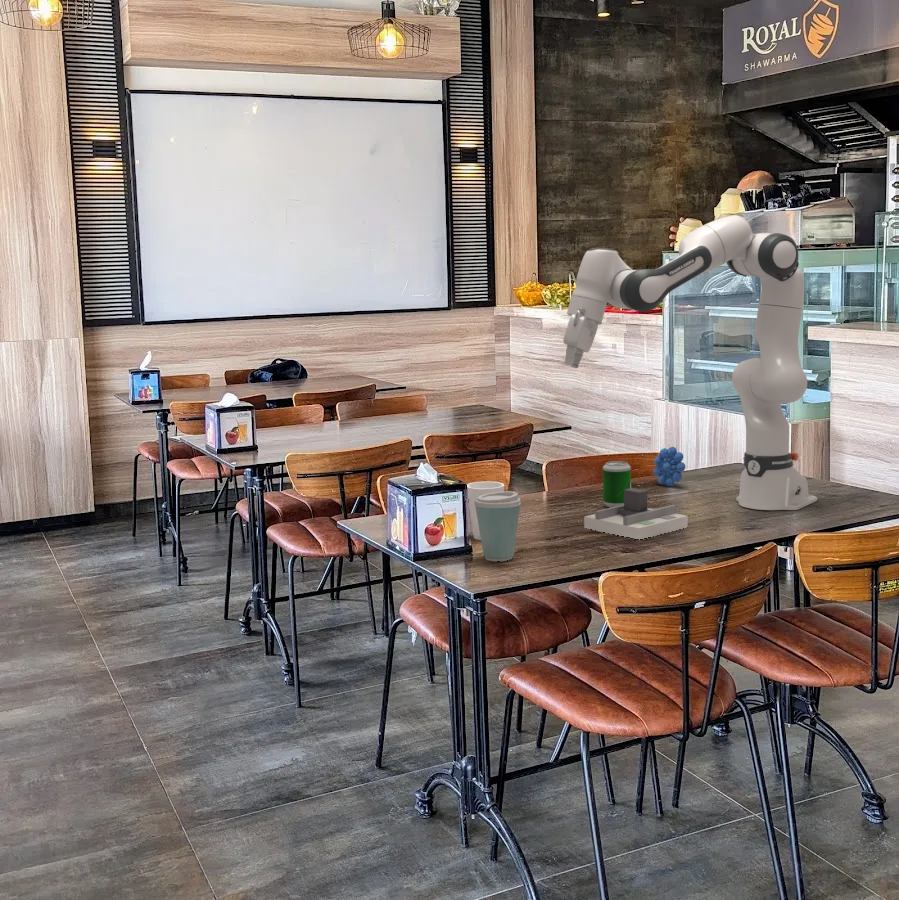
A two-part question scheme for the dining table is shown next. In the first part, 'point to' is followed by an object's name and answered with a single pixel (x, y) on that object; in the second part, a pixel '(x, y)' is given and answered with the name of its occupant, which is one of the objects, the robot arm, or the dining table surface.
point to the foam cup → (476, 491)
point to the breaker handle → (634, 502)
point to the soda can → (615, 482)
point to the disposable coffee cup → (498, 524)
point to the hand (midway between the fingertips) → (570, 366)
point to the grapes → (669, 466)
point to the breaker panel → (636, 522)
